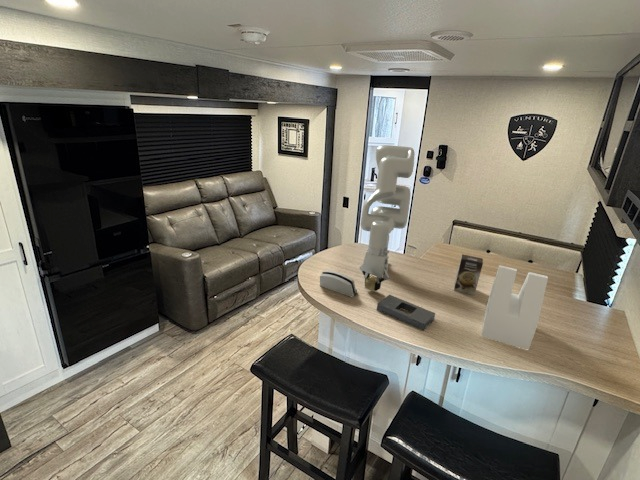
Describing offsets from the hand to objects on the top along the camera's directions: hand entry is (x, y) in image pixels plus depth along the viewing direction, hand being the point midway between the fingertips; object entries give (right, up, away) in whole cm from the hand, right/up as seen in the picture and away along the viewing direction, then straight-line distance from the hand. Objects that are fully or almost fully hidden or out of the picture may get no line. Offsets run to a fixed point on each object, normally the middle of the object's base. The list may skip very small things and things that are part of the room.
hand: (372, 287), depth 154 cm
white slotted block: (+48, -14, -20) cm, 54 cm away
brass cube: (0, 0, 0) cm, 0 cm away
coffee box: (+44, -3, +8) cm, 44 cm away
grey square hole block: (+11, -9, -15) cm, 21 cm away
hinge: (-15, -2, 0) cm, 16 cm away
